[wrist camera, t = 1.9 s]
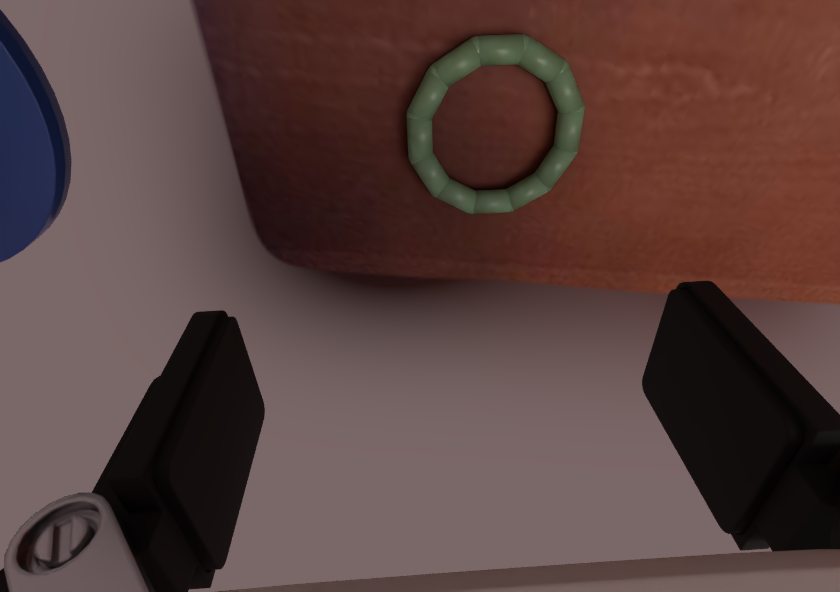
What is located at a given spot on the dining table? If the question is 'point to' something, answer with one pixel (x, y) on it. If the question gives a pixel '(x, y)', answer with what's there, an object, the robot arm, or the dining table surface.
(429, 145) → the ring
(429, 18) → the dining table surface
